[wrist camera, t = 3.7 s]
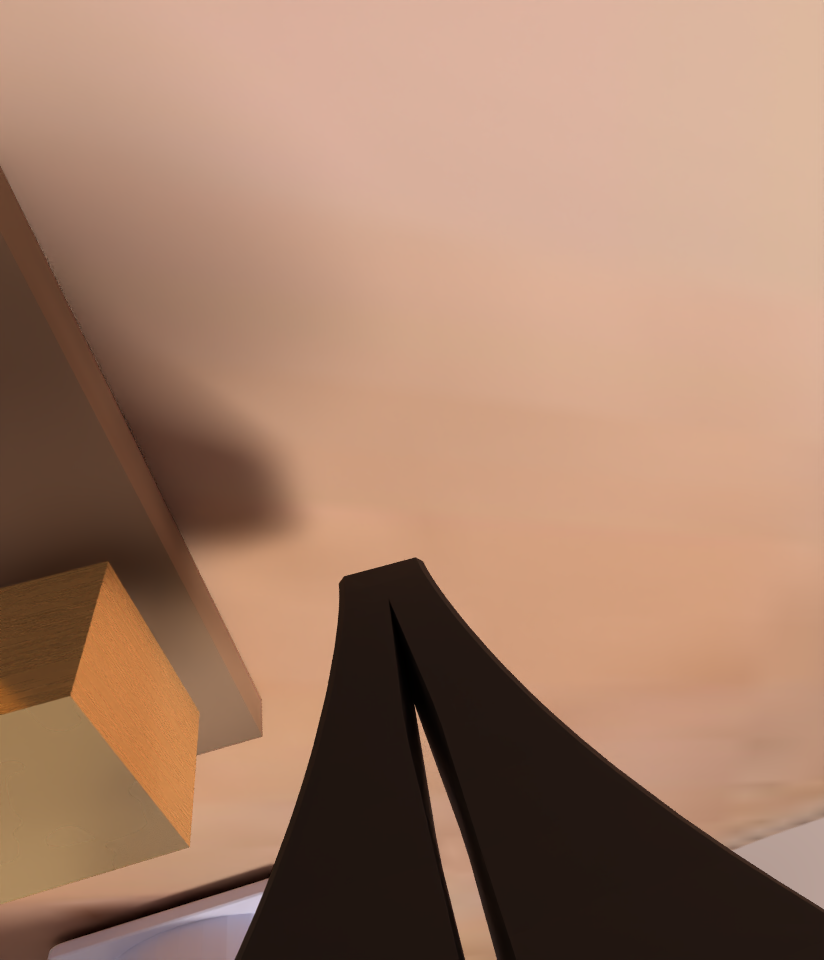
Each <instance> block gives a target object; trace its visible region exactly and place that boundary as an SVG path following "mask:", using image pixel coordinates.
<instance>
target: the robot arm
mask: <svg viewBox="0 0 824 960" xmlns="http://www.w3.org/2000/svg"><path fill="white" fill-rule="evenodd" d="M414 704H415V706H414ZM415 707H416V710H417V712H418V715H419V718H420V721H421V723H422V726H423V729H424V732H425V734H426V737H427V740H428V743H429V745H430V748H431V751H432V754H433V756H434V759H435V762H436V765H437V767H438V770H439V773H440V776H441V778H442V781H443V784H444V787H445V789H446V792H447V795H448V798H449V800H450V803H451V806H452V809H453V811H454V814H455V817H456V820H457V822H458V825H459V828H460V831H461V834H462V837H463V840H464V843H465V846H466V849H467V853H468V856H469V859H470V862H471V866H472V870H473V873H474V877H475V881H476V884H477V888H478V891H479V895H480V899H481V902H482V906H483V910H484V913H485V917H486V920H487V924H488V928H489V931H490V935H491V939H492V942H493V946H494V950H495V953H496V957H497V960H824V909H822V908H821V907H819V906H818V905H816V904H814V903H813V902H811V901H810V900H808V899H806V898H805V897H803V896H802V895H800V894H798V893H797V892H795V891H794V890H792V889H790V888H789V887H787V886H785V885H784V884H782V883H781V882H779V881H777V880H776V879H774V878H773V877H771V876H770V875H768V874H767V873H765V872H764V871H762V870H760V869H759V868H757V867H756V866H754V865H753V864H751V863H750V862H748V861H747V860H745V859H744V858H742V857H740V856H739V855H737V854H736V853H734V852H733V851H731V850H730V849H728V848H727V847H726V846H724V845H723V844H721V843H720V842H718V841H717V840H715V839H714V838H712V837H711V836H710V835H708V834H707V833H705V832H704V831H702V830H701V829H699V828H698V827H697V826H695V825H694V824H692V823H691V822H689V821H688V820H686V819H685V818H683V817H682V816H681V815H679V814H678V813H677V812H675V811H674V810H673V809H671V808H670V807H669V806H667V805H666V804H665V803H663V802H662V801H661V800H659V799H658V798H657V797H655V796H654V795H653V794H651V793H650V792H649V791H647V790H646V789H645V788H643V787H642V786H641V785H639V784H638V783H637V782H635V781H634V780H633V779H631V778H630V777H629V776H627V775H626V774H625V773H623V772H622V771H621V770H619V769H618V768H617V767H615V766H614V765H613V764H612V763H610V762H609V761H608V760H607V759H606V758H604V757H603V756H602V755H601V754H600V753H598V752H597V751H596V750H595V749H593V748H592V747H591V746H590V745H589V744H587V743H586V742H585V741H584V740H583V739H581V738H580V737H579V736H578V735H577V734H576V733H574V732H573V731H572V730H571V729H570V728H569V727H568V726H567V725H565V724H564V723H563V722H562V721H561V720H560V719H559V718H557V717H556V716H555V715H554V714H553V713H552V712H551V711H550V710H549V709H548V708H547V707H545V706H544V705H543V704H542V703H541V702H540V701H539V700H538V699H537V698H536V697H535V696H534V695H533V694H532V693H531V692H530V691H529V690H528V689H527V688H526V687H525V686H524V685H523V684H522V683H521V682H520V681H519V680H518V679H517V678H516V677H515V676H514V675H513V674H512V673H511V672H510V671H509V670H508V669H507V668H506V667H505V666H504V665H503V664H502V663H501V662H500V661H499V660H498V659H497V658H496V657H495V655H494V654H493V653H492V652H491V651H490V650H489V649H488V648H487V647H486V645H485V644H484V643H483V642H482V641H481V640H480V639H479V637H478V636H477V635H476V634H475V633H474V632H473V631H472V629H471V628H470V627H469V626H468V625H467V624H466V622H465V621H464V620H463V619H462V617H461V616H460V615H459V614H458V613H457V611H456V610H455V609H454V607H453V606H452V605H451V603H450V602H449V601H448V599H447V598H446V597H445V595H444V594H443V593H442V591H441V590H440V588H439V587H438V586H437V584H436V583H435V581H434V580H433V578H432V576H431V575H430V573H429V572H428V570H427V568H426V566H425V565H424V563H423V561H421V560H419V559H417V558H412V559H408V560H404V561H400V562H397V563H393V564H389V565H385V566H382V567H378V568H374V569H370V570H367V571H363V572H359V573H355V574H352V575H348V576H344V577H343V579H342V580H341V581H340V583H339V615H338V626H337V633H336V641H335V648H334V654H333V659H332V665H331V670H330V676H329V681H328V687H327V692H326V696H325V701H324V705H323V709H322V713H321V717H320V721H319V725H318V729H317V733H316V737H315V741H314V745H313V749H312V753H311V756H310V759H309V763H308V766H307V770H306V773H305V776H304V780H303V783H302V786H301V789H300V792H299V795H298V799H297V802H296V805H295V808H294V811H293V814H292V817H291V820H290V823H289V825H288V828H287V831H286V834H285V836H284V839H283V842H282V844H281V847H280V850H279V853H278V855H277V858H276V861H275V864H274V866H273V869H272V872H271V874H270V877H269V878H268V879H265V880H261V881H258V882H255V883H252V884H249V885H245V886H242V887H239V888H236V889H233V890H229V891H226V892H223V893H220V894H217V895H213V896H210V897H207V898H204V899H200V900H197V901H194V902H191V903H188V904H184V905H181V906H178V907H175V908H172V909H168V910H165V911H162V912H159V913H156V914H152V915H149V916H146V917H143V918H140V919H136V920H133V921H130V922H127V923H123V924H120V925H117V926H114V927H111V928H107V929H104V930H101V931H98V932H95V933H91V934H88V935H85V936H82V937H79V938H75V939H72V940H69V941H66V942H63V943H60V944H57V945H55V946H54V947H53V948H52V949H50V951H49V955H48V960H465V958H464V954H463V950H462V946H461V941H460V937H459V933H458V929H457V925H456V921H455V917H454V913H453V909H452V905H451V901H450V897H449V893H448V889H447V885H446V881H445V877H444V872H443V868H442V864H441V859H440V854H439V849H438V844H437V839H436V833H435V827H434V821H433V815H432V809H431V803H430V797H429V791H428V785H427V779H426V772H425V766H424V760H423V754H422V748H421V742H420V736H419V730H418V724H417V718H416V712H415Z"/></svg>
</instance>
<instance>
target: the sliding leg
mask: <svg viewBox="0 0 824 960" xmlns="http://www.w3.org/2000/svg"><path fill="white" fill-rule="evenodd" d="M199 714H200V712H199V711H198V709H197V707H196V706H195V704H194V702H193V701H192V699H191V697H190V696H189V694H188V692H187V691H186V689H185V687H184V686H183V684H182V682H181V681H180V679H179V677H178V676H177V674H176V672H175V671H174V669H173V667H172V666H171V664H170V662H169V661H168V659H167V657H166V656H165V654H164V652H163V651H162V649H161V647H160V646H159V644H158V642H157V641H156V639H155V637H154V636H153V634H152V632H151V631H150V629H149V627H148V626H147V624H146V622H145V621H144V619H143V617H142V616H141V614H140V612H139V611H138V609H137V607H136V606H135V604H134V602H133V601H132V599H131V597H130V596H129V594H128V592H127V591H126V589H125V587H124V586H123V584H122V582H121V581H120V579H119V577H118V576H117V574H116V572H115V571H114V569H113V567H112V566H111V564H110V562H109V561H105V562H101V563H97V564H93V565H89V566H85V567H82V568H78V569H74V570H70V571H66V572H62V573H58V574H54V575H50V576H46V577H42V578H39V579H35V580H31V581H27V582H23V583H19V584H15V585H11V586H7V587H3V588H0V905H1V904H4V903H7V902H10V901H14V900H17V899H20V898H24V897H27V896H30V895H34V894H37V893H40V892H43V891H47V890H50V889H53V888H57V887H60V886H63V885H66V884H70V883H73V882H76V881H80V880H83V879H86V878H90V877H93V876H96V875H99V874H103V873H106V872H109V871H113V870H116V869H119V868H123V867H126V866H129V865H132V864H136V863H139V862H142V861H146V860H149V859H152V858H156V857H159V856H162V855H165V854H169V853H172V852H175V851H179V850H182V849H185V848H189V847H190V836H191V822H192V809H193V795H194V782H195V768H196V755H197V741H198V728H199Z"/></svg>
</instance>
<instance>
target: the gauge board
mask: <svg viewBox="0 0 824 960" xmlns="http://www.w3.org/2000/svg"><path fill="white" fill-rule="evenodd" d="M105 561H109V562H110V564H111V566H112V567H113V569H114V571H115V572H116V574H117V576H118V577H119V579H120V581H121V582H122V584H123V586H124V587H125V589H126V591H127V592H128V594H129V596H130V597H131V599H132V601H133V602H134V604H135V606H136V607H137V609H138V611H139V612H140V614H141V616H142V617H143V619H144V621H145V622H146V624H147V626H148V627H149V629H150V631H151V632H152V634H153V636H154V637H155V639H156V641H157V642H158V644H159V646H160V647H161V649H162V651H163V652H164V654H165V656H166V657H167V659H168V661H169V662H170V664H171V666H172V667H173V669H174V671H175V672H176V674H177V676H178V677H179V679H180V681H181V682H182V684H183V686H184V687H185V689H186V691H187V692H188V694H189V696H190V697H191V699H192V701H193V702H194V704H195V706H196V707H197V709H198V711H199V712H200V714H199V728H198V741H197V755H200V754H203V753H207V752H210V751H214V750H217V749H221V748H224V747H228V746H231V745H235V744H238V743H241V742H245V741H248V740H252V739H255V738H259V737H262V699H261V697H260V695H259V693H258V691H257V689H256V687H255V685H254V683H253V681H252V679H251V677H250V675H249V673H248V671H247V669H246V667H245V665H244V663H243V661H242V659H241V657H240V655H239V652H238V650H237V648H236V646H235V644H234V642H233V640H232V638H231V636H230V634H229V632H228V630H227V628H226V626H225V624H224V622H223V620H222V618H221V616H220V614H219V612H218V610H217V608H216V606H215V604H214V601H213V599H212V597H211V595H210V593H209V591H208V589H207V587H206V585H205V583H204V581H203V579H202V577H201V575H200V573H199V571H198V569H197V567H196V565H195V563H194V561H193V559H192V557H191V555H190V552H189V550H188V548H187V546H186V544H185V542H184V540H183V538H182V536H181V534H180V532H179V530H178V528H177V526H176V524H175V522H174V520H173V518H172V516H171V514H170V512H169V510H168V508H167V506H166V504H165V501H164V499H163V497H162V495H161V493H160V491H159V489H158V487H157V485H156V483H155V481H154V479H153V477H152V475H151V473H150V471H149V469H148V467H147V465H146V463H145V461H144V459H143V457H142V455H141V453H140V450H139V448H138V446H137V444H136V442H135V440H134V438H133V436H132V434H131V432H130V430H129V428H128V426H127V424H126V422H125V420H124V418H123V416H122V414H121V412H120V410H119V408H118V406H117V404H116V401H115V399H114V397H113V395H112V393H111V391H110V389H109V387H108V385H107V383H106V381H105V379H104V377H103V375H102V373H101V371H100V369H99V367H98V365H97V363H96V361H95V359H94V357H93V355H92V353H91V350H90V348H89V346H88V344H87V342H86V340H85V338H84V336H83V334H82V332H81V330H80V328H79V326H78V324H77V322H76V320H75V318H74V316H73V314H72V312H71V310H70V308H69V306H68V304H67V302H66V299H65V297H64V295H63V293H62V291H61V289H60V287H59V285H58V283H57V281H56V279H55V277H54V275H53V273H52V271H51V269H50V267H49V265H48V263H47V261H46V259H45V257H44V255H43V253H42V250H41V248H40V246H39V244H38V242H37V240H36V238H35V236H34V234H33V232H32V230H31V228H30V226H29V224H28V222H27V220H26V218H25V216H24V214H23V212H22V210H21V208H20V206H19V204H18V202H17V199H16V197H15V195H14V193H13V191H12V189H11V187H10V185H9V183H8V181H7V179H6V177H5V175H4V173H3V171H2V169H1V167H0V588H3V587H7V586H11V585H15V584H19V583H23V582H27V581H31V580H35V579H39V578H42V577H46V576H50V575H54V574H58V573H62V572H66V571H70V570H74V569H78V568H82V567H85V566H89V565H93V564H97V563H101V562H105ZM197 755H196V756H197Z"/></svg>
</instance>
